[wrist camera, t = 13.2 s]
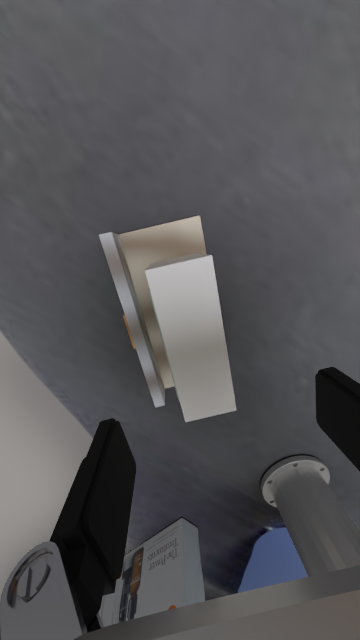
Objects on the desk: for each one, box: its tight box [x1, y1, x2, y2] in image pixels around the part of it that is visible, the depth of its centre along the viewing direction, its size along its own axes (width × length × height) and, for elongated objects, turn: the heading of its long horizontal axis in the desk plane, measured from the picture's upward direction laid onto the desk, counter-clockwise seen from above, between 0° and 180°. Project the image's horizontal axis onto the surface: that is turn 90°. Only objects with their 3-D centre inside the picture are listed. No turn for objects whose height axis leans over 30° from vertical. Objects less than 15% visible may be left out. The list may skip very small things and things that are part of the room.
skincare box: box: [99, 518, 205, 627], centre depth 34 cm, size 21×6×16 cm, turn 132°
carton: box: [145, 254, 236, 422], centre depth 20 cm, size 5×13×10 cm, turn 12°
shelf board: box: [99, 216, 207, 407], centre depth 24 cm, size 20×10×5 cm, turn 13°
